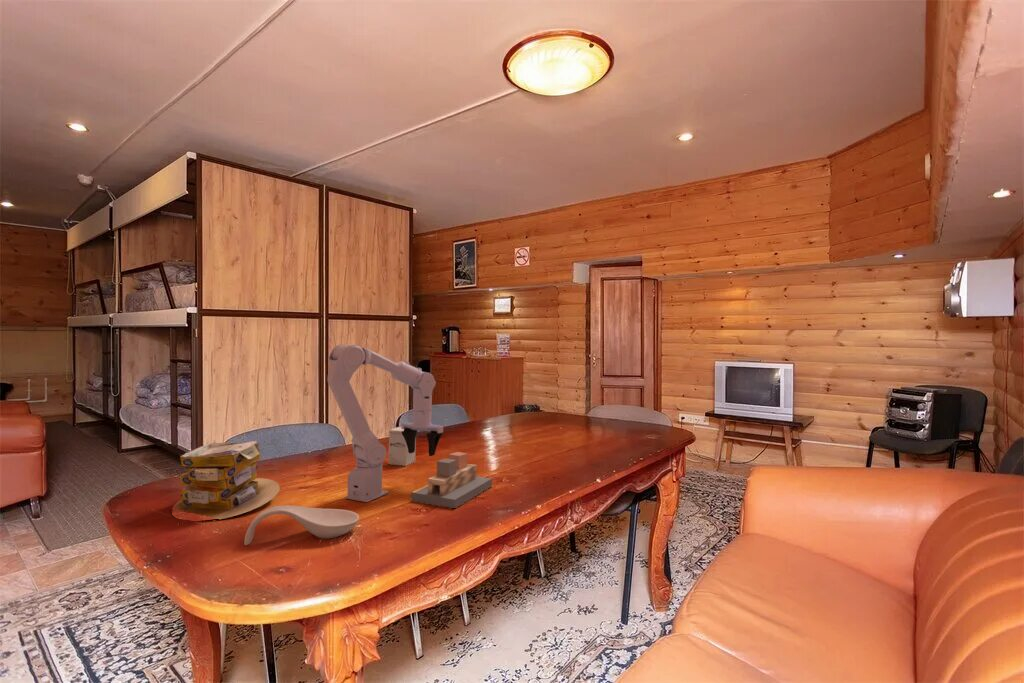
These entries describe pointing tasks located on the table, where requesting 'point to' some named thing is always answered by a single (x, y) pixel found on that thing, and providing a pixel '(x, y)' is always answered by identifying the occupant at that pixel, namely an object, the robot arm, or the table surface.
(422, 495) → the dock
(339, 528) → the spoon rest
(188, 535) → the table surface
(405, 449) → the supplement box
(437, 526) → the table surface
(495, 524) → the table surface
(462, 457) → the salmon pink cube
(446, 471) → the grey cube
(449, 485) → the tan piece
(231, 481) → the stacked yellow boxes
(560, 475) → the table surface
